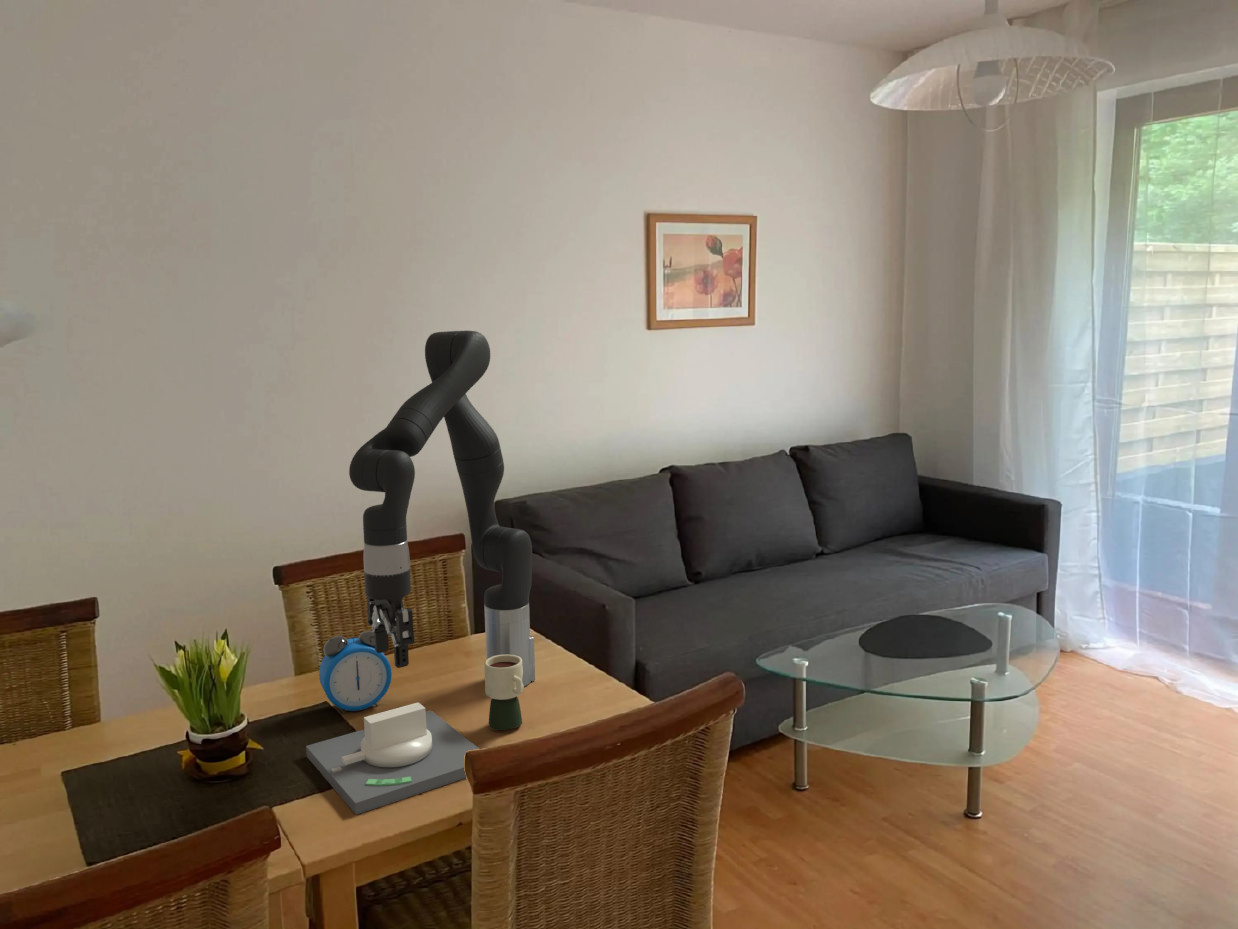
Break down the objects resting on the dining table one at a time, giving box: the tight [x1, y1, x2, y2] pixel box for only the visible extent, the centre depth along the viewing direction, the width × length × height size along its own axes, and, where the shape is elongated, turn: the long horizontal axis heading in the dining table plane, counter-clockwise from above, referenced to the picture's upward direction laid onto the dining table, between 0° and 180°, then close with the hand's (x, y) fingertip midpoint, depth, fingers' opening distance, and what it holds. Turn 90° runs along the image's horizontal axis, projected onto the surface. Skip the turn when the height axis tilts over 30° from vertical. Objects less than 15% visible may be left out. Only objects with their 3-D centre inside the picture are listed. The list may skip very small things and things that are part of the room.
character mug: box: [484, 655, 525, 731], centre depth 177 cm, size 11×7×13 cm, turn 40°
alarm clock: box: [318, 630, 393, 714], centre depth 186 cm, size 13×6×15 cm, turn 117°
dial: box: [342, 702, 432, 767], centre depth 162 cm, size 16×12×7 cm
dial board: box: [305, 710, 480, 815], centre depth 164 cm, size 24×24×2 cm
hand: (391, 659), depth 161 cm, fingers open, 8 cm apart
